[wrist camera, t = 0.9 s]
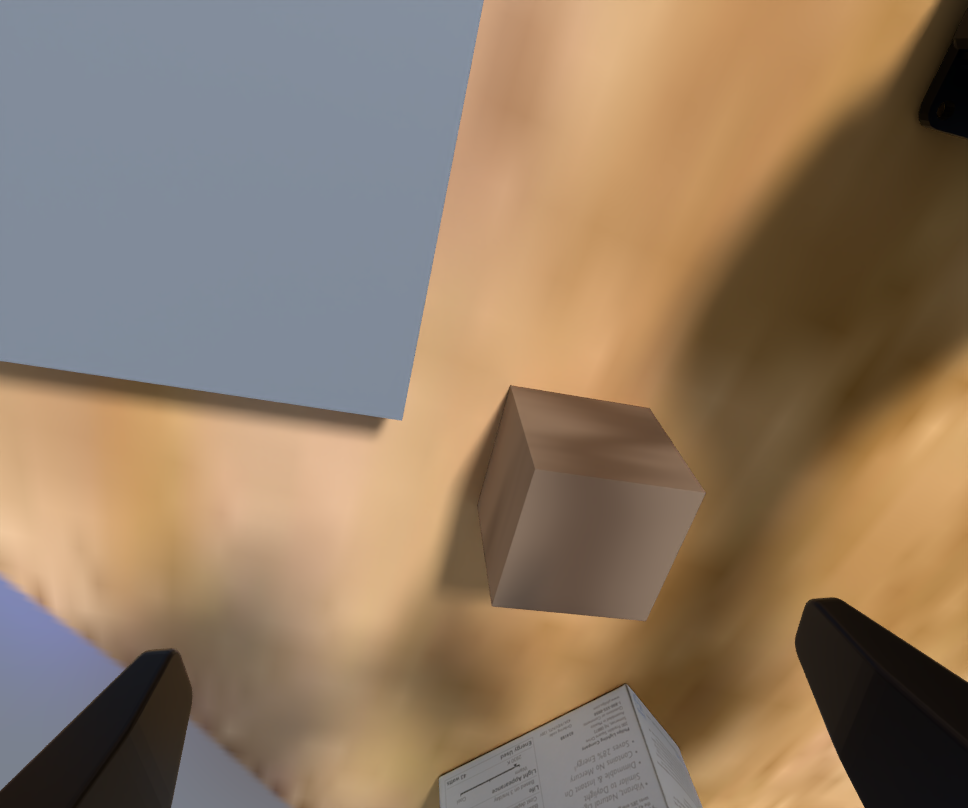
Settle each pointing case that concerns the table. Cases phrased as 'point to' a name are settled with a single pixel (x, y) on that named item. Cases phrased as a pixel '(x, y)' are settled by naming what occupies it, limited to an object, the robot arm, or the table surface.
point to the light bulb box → (580, 764)
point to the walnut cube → (582, 506)
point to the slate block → (228, 190)
